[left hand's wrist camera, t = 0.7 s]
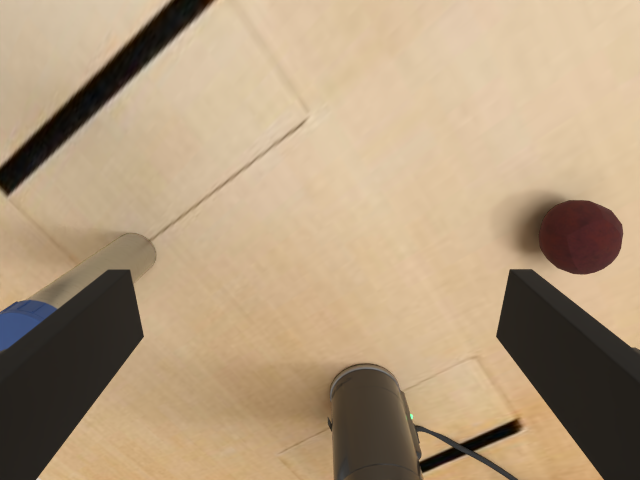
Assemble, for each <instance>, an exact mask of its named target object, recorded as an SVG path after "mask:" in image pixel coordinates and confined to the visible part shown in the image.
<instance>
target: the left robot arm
mask: <svg viewBox="0 0 640 480" xmlns="http://www.w3.org/2000/svg"><path fill="white" fill-rule="evenodd" d="M143 337H144V335H143V330H142V325H141V320H140V315H139V310H138V305H137V300H136V296H135V291H134V286H133V281H132V276H131V271H130V269H108V270H107V271H105V272H104V273H103V274H102V275H100V276H99V277H98V278H97V279H95V280H94V281H93V282H91V283H90V284H89V285H88V286H86V287H85V288H84V289H83V290H81V291H80V292H79V293H77V294H76V295H75V296H74V297H72V298H71V299H70V300H69V301H67V302H66V303H65V304H63V305H62V306H61V307H60V308H58V309H57V310H56V311H55V312H53V313H52V314H51V315H49V316H48V317H47V318H46V319H44V320H43V321H42V322H41V323H39V324H38V325H37V326H35V327H34V328H33V329H32V330H30V331H29V332H28V333H27V334H25V335H24V336H23V337H21V338H20V339H19V340H18V341H16V342H15V343H14V344H13V345H11V346H10V347H9V348H7V349H4V350H2V351H0V480H36V479H37V478H38V476H39V475H40V474H41V472H42V471H43V470H44V468H45V467H46V466H47V464H48V463H49V462H50V460H51V459H52V458H53V456H54V455H55V454H56V452H57V451H58V450H59V448H60V447H61V446H62V444H63V443H64V442H65V441H66V439H67V438H68V437H69V435H70V434H71V433H72V431H73V430H74V429H75V427H76V426H77V425H78V423H79V422H80V421H81V419H82V418H83V417H84V415H85V414H86V413H87V411H88V410H89V409H90V407H91V406H92V405H93V403H94V402H95V401H96V399H97V398H98V397H99V395H100V394H101V393H102V391H103V390H104V389H105V387H106V386H107V385H108V383H109V382H110V381H111V379H112V378H113V377H114V375H115V374H116V373H117V372H118V370H119V369H120V368H121V366H122V365H123V364H124V362H125V361H126V360H127V358H128V357H129V356H130V354H131V353H132V352H133V350H134V349H135V348H136V346H137V345H138V344H139V342H140V341H141V340H142V338H143ZM496 337H497V338H498V340H499V341H500V342H501V344H502V345H503V346H504V348H505V349H506V350H507V352H508V353H509V354H510V356H511V357H512V358H513V360H514V361H515V362H516V364H517V365H518V366H519V368H520V369H521V370H522V372H523V373H524V374H525V375H526V377H527V378H528V379H529V381H530V382H531V383H532V385H533V386H534V387H535V389H536V390H537V391H538V393H539V394H540V395H541V397H542V398H543V399H544V401H545V402H546V403H547V405H548V406H549V407H550V409H551V410H552V411H553V413H554V414H555V415H556V417H557V418H558V419H559V421H560V422H561V423H562V425H563V426H564V427H565V429H566V430H567V431H568V433H569V434H570V435H571V437H572V438H573V439H574V441H575V442H576V443H577V444H578V446H579V447H580V448H581V450H582V451H583V452H584V454H585V455H586V456H587V458H588V459H589V460H590V462H591V463H592V464H593V466H594V467H595V468H596V470H597V471H598V472H599V474H600V475H601V476H602V478H603V479H604V480H640V350H639V349H637V348H631V347H630V346H629V345H627V344H626V343H625V342H624V341H622V340H621V339H620V338H619V337H617V336H616V335H615V334H613V333H612V332H611V331H610V330H608V329H607V328H606V327H605V326H603V325H602V324H601V323H599V322H598V321H597V320H596V319H594V318H593V317H592V316H591V315H589V314H588V313H587V312H585V311H584V310H583V309H582V308H580V307H579V306H578V305H577V304H575V303H574V302H573V301H571V300H570V299H569V298H568V297H566V296H565V295H564V294H563V293H561V292H560V291H559V290H557V289H556V288H555V287H554V286H552V285H551V284H550V283H549V282H547V281H546V280H545V279H543V278H542V277H541V276H540V275H538V274H537V273H536V272H535V271H533V270H532V269H510V271H509V276H508V281H507V286H506V291H505V296H504V300H503V305H502V310H501V315H500V320H499V325H498V330H497V335H496Z"/></svg>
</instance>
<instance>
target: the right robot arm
mask: <svg viewBox="0 0 640 480" xmlns="http://www.w3.org/2000/svg"><path fill="white" fill-rule="evenodd" d="M330 400H331V411H332V424H331V422H330V420H329V418H328V425H329V427H330V429H331V431H332V440H333V467H334V480H424V478H423V475H422V471H421V468H420V464H419V459H420V458H421V450H420V446H419V443H420V442H419V439H418V433H417V432H418V431H422V432H426V433H429V434H431V435H433V436H435V437H437V438H439V439H441V440H442V441H444V442H446V443H447V444H449V445H451V446H453V447H454V448H456V449H458V450H460V451H462V452H464V453H466V454H468V455H470V456H472V457H473V458H475V459H477V460H479V461H481V462H483V463H484V464H486V465H488V466H489V467H491V468H493V469H494V470H496V471H497V472H499V473H500V474H502V475H504V476H505V477H507V478H508V479H509V480H518V479H516V478H515V477H513V476H512V475H511V474H509V473H508V472H506V471H505V470H503V469H502V468H500V467H499V466H497V465H495V464H494V463H492V462H491V461H489V460H487V459H486V458H484V457H482V456H480V455H479V454H477V453H475V452H473V451H471V450H469V449H467V448H465V447H463V446H461V445H459V444H458V443H456V442H454V441H452V440H451V439H449V438H447V437H445V436H443V435H441V434H438V433H436V432H433V431H430V430H428V429H426V428H424V427H421V426H415V425H414V424H413V422H412V418H413V416H412V415H411V414H410V412H409V408H408V405H407V401H406V398H405V394H404V393H403V392H402V391H400V388H399V385H398V382H397V380H396V378H395V377H394V375H393V374H392V373H391V372H389V371H388V370H386V369H385V368H382V367H380V366H376V365H371V364H361V365H356V366H352V367H350V368H347V369H346V370H344V371H342V372H341V373H340V374H339V375H338V376H337V377H336V378H335V379H334V381H333V383H332V385H331V388H330Z"/></svg>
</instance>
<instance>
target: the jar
mask: <svg viewBox="0 0 640 480" xmlns="http://www.w3.org/2000/svg"><path fill="white" fill-rule="evenodd" d="M155 260H156V251H155V248H154V246H153V245H152V243H151V242H150V241H149V240H148V239H147V238H145V237H144V236H142V235H139V234H134V233H128V234H125V235H122V236H121V237H119V238H118V239H116V240H115V241H113V242H112V243H110V244H109V245H107V246H106V247H104V248H103V249H101V250H100V251H98V252H97V253H95V254H94V255H92V256H91V257H89V258H88V259H86V260H85V261H83V262H82V263H80V264H79V265H77V266H76V267H74V268H73V269H71V270H70V271H68V272H67V273H65V274H64V275H62V276H61V277H59V278H58V279H56V280H55V281H53V282H52V283H50V284H49V285H47V286H46V287H44V288H43V289H42V290H40V291H39V292H37V293H36V294H34V295H33V296H31V297H30V298H28V299H27V300H36V301H41V302H45V303H47V304H50V305H52V306H54V307H55V308H57V309H58V308H60V307H61V306H62V305H63V304H65V303H66V302H67V301H69V300H70V299H71V298H72V297H74V296H75V295H76V294H77V293H79V292H80V291H81V290H83V289H84V288H85V287H86V286H88V285H89V284H90V283H91V282H93V281H94V280H95V279H97V278H98V277H99V276H100V275H102V274H103V273H104V272H105V271H107V270H108V269H130V271H131V276H132V281H133V284H134V283H135V282H136V281H137V280H138V279H139V278H140V277H141V276H142V275H143V274H144V273H145V272H146V271H147V270H148V269H149V268H151V267H152V266H153V264H154V262H155Z"/></svg>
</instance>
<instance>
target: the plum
mask: <svg viewBox="0 0 640 480" xmlns="http://www.w3.org/2000/svg"><path fill="white" fill-rule="evenodd" d="M622 237H623V229H622V224H621V223H620V221H619V220H618V218H617V217H616V216H615V215H614V213H613V212H612V211H611V210H609V209H607V208H605V207H603V206H601V205H598V204H596V203H593V202H591V201H584V200H569V201H566V202H563V203H561V204H558V205H556V206H555V207H553V208H552V209H551V210H550V211H548V213H547V214H546V216H545V217H544V219H543V221H542V225H541V228H540V232H539V244H540V248H541V250H542V252H543V253H544V255H545V256H546V258H547V259H548V260H549V261H550V262H551V263H552V264H554V265H555V266H556V267H557V268H559V269H562V270H564V271H567V272H570V273H572V274H590V273H594V272H597V271H599V270H602V269H604V268H605V267H607V266H608V265H609V264H611V263H612V262H613V261H614V260H615V258H616V257H617V256H618V254H619V252H620V249H621V244H622Z"/></svg>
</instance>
